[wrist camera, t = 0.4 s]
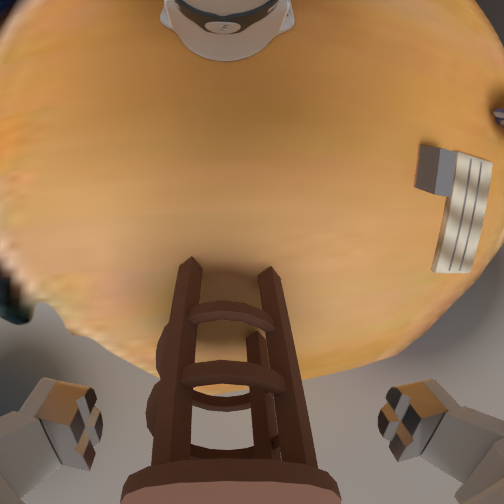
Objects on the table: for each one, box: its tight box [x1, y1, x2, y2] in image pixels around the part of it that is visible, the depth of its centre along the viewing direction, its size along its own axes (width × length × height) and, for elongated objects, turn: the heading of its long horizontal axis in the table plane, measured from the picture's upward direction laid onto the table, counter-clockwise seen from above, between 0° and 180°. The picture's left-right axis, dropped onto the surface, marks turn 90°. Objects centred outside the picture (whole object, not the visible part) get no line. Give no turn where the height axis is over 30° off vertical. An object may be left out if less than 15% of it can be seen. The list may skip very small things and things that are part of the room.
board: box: [431, 151, 493, 273], centre depth 47 cm, size 22×10×2 cm, turn 176°
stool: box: [120, 257, 341, 504], centre depth 33 cm, size 20×35×20 cm
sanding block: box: [414, 145, 457, 197], centre depth 41 cm, size 7×4×6 cm, turn 176°
